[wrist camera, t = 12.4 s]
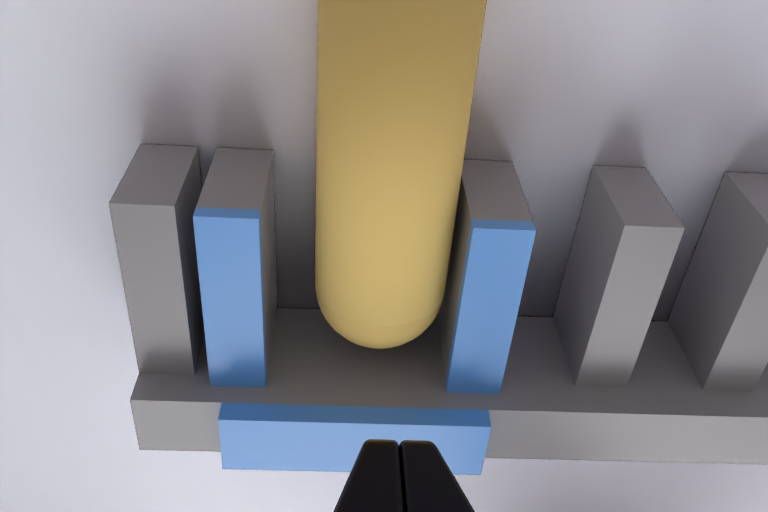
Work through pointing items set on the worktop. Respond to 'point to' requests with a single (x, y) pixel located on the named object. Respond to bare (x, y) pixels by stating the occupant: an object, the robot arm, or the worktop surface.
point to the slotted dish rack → (447, 328)
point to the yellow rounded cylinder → (390, 159)
